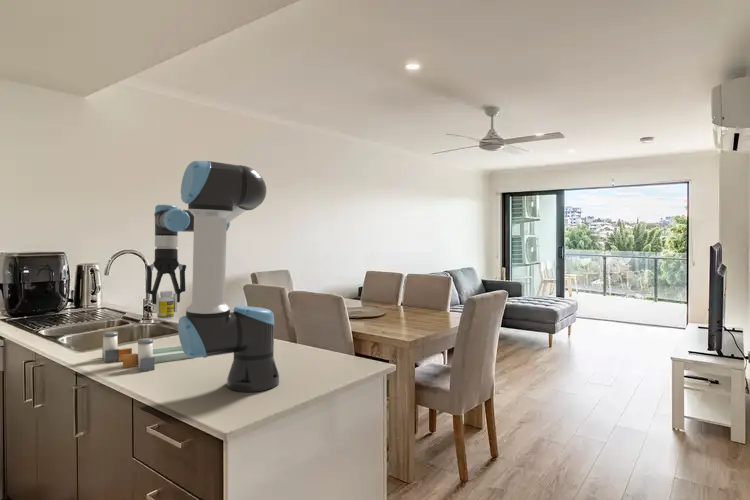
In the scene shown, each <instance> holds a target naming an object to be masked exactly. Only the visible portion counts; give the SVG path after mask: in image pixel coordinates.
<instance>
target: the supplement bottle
mask: <svg viewBox="0 0 750 500" xmlns="http://www.w3.org/2000/svg"><path fill="white" fill-rule="evenodd" d="M156 315H157V316H156V317H157V320H163V321H164V320H172V319H174V317H175V312H174V298H173V291H172V290H162V291H160V293H159V314H156Z"/></svg>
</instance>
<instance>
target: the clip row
mask: <svg viewBox="0 0 750 500" xmlns="http://www.w3.org/2000/svg"><path fill="white" fill-rule="evenodd" d="M101 352H102V354H101V358H102V357H103V345H102V351H101ZM111 362H112V363H113V362H122V368H129V367H138V353H135V352H134V353H133V348H132V347H128V348H121V349H120V348H118V349H112V350H105V361H104V363H111ZM155 364H156V363H155V357H149V358H141V362H140V369H139V370H140V372H147V371H153V370H155V367H156V365H155Z"/></svg>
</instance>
